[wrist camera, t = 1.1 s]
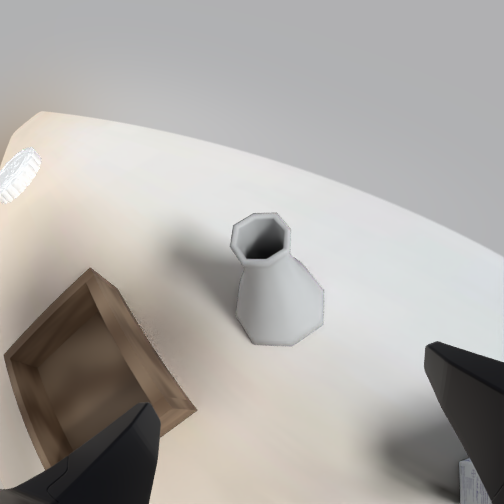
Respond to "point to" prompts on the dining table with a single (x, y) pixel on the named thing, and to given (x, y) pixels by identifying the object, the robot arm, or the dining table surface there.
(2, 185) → the mooncake
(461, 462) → the medicine box
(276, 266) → the flask
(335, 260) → the dining table surface
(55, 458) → the walled box
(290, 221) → the dining table surface
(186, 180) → the dining table surface
